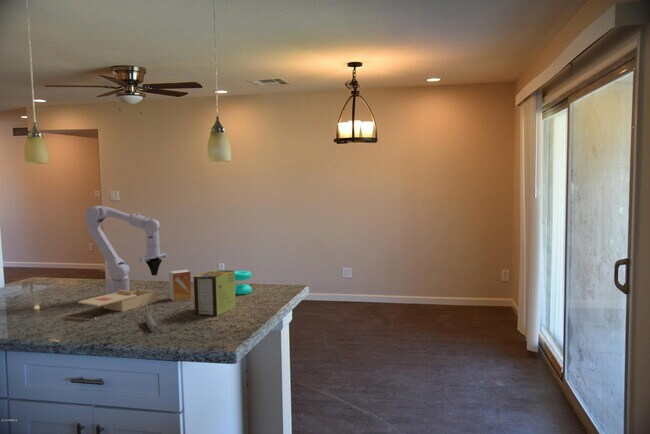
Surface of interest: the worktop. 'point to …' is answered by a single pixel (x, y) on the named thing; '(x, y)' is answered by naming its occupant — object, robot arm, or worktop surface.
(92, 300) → the lid
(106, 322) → the worktop surface
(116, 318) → the worktop surface
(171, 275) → the small box
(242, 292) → the donuts
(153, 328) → the kitchen whisk
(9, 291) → the worktop surface
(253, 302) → the worktop surface
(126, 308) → the wooden box
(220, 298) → the protein box
